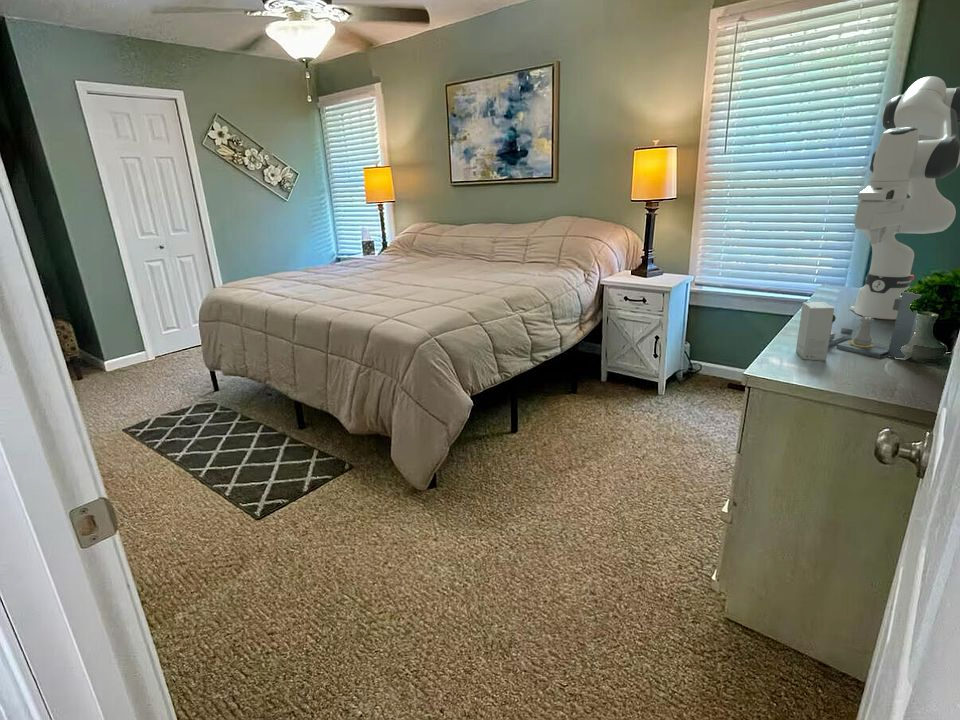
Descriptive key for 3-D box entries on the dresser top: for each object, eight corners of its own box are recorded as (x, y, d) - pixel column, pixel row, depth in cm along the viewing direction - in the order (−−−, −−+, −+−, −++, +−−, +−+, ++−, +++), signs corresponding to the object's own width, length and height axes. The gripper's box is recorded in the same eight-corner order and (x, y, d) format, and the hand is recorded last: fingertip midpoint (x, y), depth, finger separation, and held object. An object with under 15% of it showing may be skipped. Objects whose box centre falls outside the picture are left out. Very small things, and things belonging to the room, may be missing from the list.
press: (840, 336, 158) (852, 279, 152) (920, 353, 141) (937, 290, 135) (813, 345, 151) (825, 285, 145) (894, 364, 134) (910, 298, 128)
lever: (824, 336, 153) (829, 311, 150) (834, 339, 150) (839, 313, 148) (816, 339, 151) (821, 313, 148) (826, 341, 149) (832, 315, 146)
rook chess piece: (848, 341, 149) (854, 315, 146) (863, 340, 149) (869, 314, 146) (859, 346, 145) (865, 319, 142) (875, 345, 145) (881, 318, 142)
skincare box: (826, 361, 139) (837, 308, 134) (801, 359, 141) (810, 307, 136) (817, 351, 146) (827, 301, 141) (793, 350, 148) (802, 300, 143)
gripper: (892, 190, 146) (881, 239, 150) (855, 194, 136) (844, 246, 141) (918, 190, 140) (906, 241, 145) (882, 194, 131) (870, 248, 136)
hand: (875, 243), depth 143 cm, fingers closed
